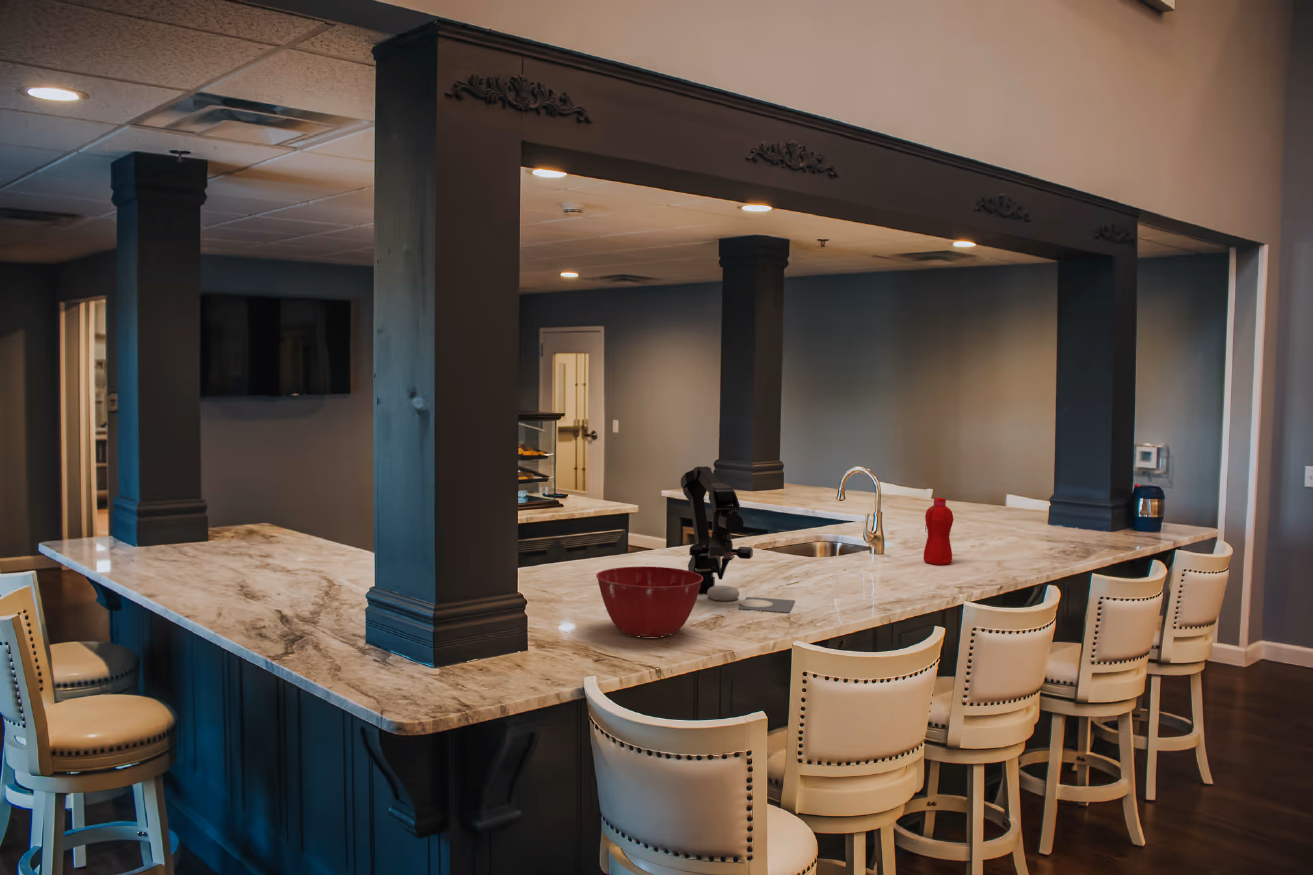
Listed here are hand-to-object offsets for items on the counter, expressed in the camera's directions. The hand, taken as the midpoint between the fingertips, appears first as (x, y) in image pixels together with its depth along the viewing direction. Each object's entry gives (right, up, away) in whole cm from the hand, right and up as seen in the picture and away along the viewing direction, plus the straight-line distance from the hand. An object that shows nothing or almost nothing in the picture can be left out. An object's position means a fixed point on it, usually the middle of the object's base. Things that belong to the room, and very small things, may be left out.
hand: (720, 579), depth 295 cm
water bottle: (+86, -5, +72) cm, 112 cm away
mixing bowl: (-22, -9, -36) cm, 43 cm away
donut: (+3, -6, 0) cm, 6 cm away
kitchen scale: (+14, -8, -3) cm, 16 cm away
